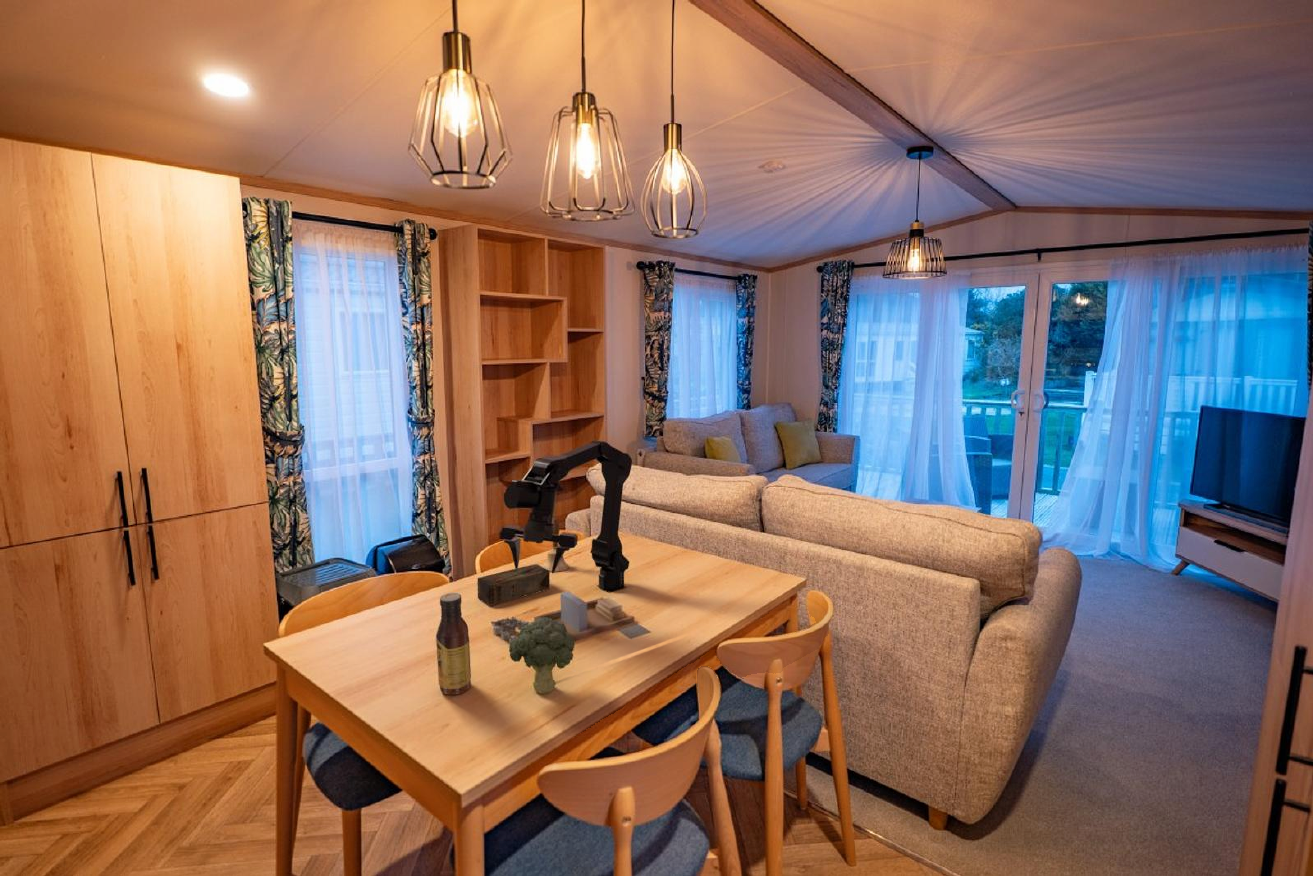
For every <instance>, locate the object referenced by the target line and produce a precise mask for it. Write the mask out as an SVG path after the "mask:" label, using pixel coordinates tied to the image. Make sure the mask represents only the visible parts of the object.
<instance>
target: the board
mask: <svg viewBox="0 0 1313 876" xmlns="http://www.w3.org/2000/svg"><path fill="white" fill-rule="evenodd" d="M586 602H587V601H585V600H583V599H582V598H580V597H579V596H577V595H575V594H574V593H572V592H570V591H569V590H568V591H564V592H560V610H561V620H562V621H564V622H565V623H567V624H568V625H569V626H571V627H572V628H573V629H575V630H576V631H578V632H582V631H585V630H587V603H586Z"/></svg>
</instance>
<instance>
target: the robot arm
mask: <svg viewBox="0 0 1313 876" xmlns="http://www.w3.org/2000/svg"><path fill="white" fill-rule="evenodd" d="M594 460H595V461H597V462H598V464H599V463H600V465H601V471H600V472H601V475H602V477H603V479H604V482H605V486H604V487H605V488H604V496H603V505H602V506H603V507H602V516H601V522H600V523H601V526H600V533H599V534H598V536H597V537H596V538H592V540H591V547H590V548H591V549H590V554H591V559H592V560H593V561H594V564H595V567H597V568H599V574H598V585H597V586H596V587H598V588H599V589H600V590H602V591H605V592H606V593H614V592H617V591H621V590H624V589H628V586H626V585H625V572H626V570H628V569H629V566H630V561H629V559H628V558H627V557H625V555H624V554H623V543H622V542H621V539H620V536H619V529H620V520H621V519H620V517H621V508H622V498H623V491H624V490H623V489H624V484H625V482H626V481H627V480H628V478H629V477H630V475H631V470H632V464H633V459H632V457H631V456H630V455H629V454H628V453H626V452H623V451H622V450H619V449H618V448H615V447H614V446H612V445H611V444H609V442H607V441H603V440H597V439H595V440H594V439H593V440H592V441H590V442H588V443H587V444H584V445H582V446H579V447H577V448H574V449H572V450H569V451H567V452H564V453H562V454H558V455H545V456H543V457H541V456H540V457H537V458H535V459H534V461H533V464H532V466H530V469H528V471H527V473H526V474H525V475H524V477H523V478H522V479H521V480H517V479H512V480H511V482H510V485H508V486H507V487H506V489H505V492H504V493H503V503H504V504H505V507H506V508H508V509H510V510H514V509H515V510H516V509H517V510H519V509H520V510H521V509H522V510H525V509H527V510H529V509H530V512H529V515H528V519H527V522H526V524H525V525H524V527H523V529H522V528H521V526H520V525H519V526H518V525H511V524H506V525H505V526H502V527H501V528H500V529H499V531H498V532H499V534H498V539H500V540H503V543H505V544H507V545H508V546H509V548H510V552H511V555H512V559H513V564H514V569H517V568H519V564H520V557H521V556H520V554H521V542H522V541H521V539H522V540H523V541H524V542H526V543H529V542H530V543H535V544H543V542H551V543H553V542H558V547H557V548H556V555H555V559H554V563H553V567H552V572H551V574H555V573H556V572H555V570H556V568H557V565H558V563H559V561H560V559H561V557H562V555H563V556H564V553H565V552H569V550H570V549H574V548H575V547H576V546H578V539H579V538H578V535H577V533H572V532H564V531H562V533H559V535H554V534H553V533H554V524H552V522H553V518H554V515H555V513H554V512H555V505H556V500H557V499H556V497H557V492H563V491H564V488H563V486H561V484H560V481H562V480H563V479H564V478H566V477H567V476H568V474H569V472H571V471H572V470H574V469H576V468H578V467H580V466H582V465H585V464H587V463H589V462H592V461H594Z"/></svg>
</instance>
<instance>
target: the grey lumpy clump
mask: <svg viewBox="0 0 1313 876" xmlns="http://www.w3.org/2000/svg"><path fill="white" fill-rule="evenodd" d="M532 622H533V621H525V620H523V619H517V618H516V617H515V616H512V617H511V618H509V617H505V618H502V619H497V621H490V623H491V625H492V627H493V635H495V636H500V638H501V641H502V640H503V641H506V640H508V644H509V645H510V644H511V642H512V641H513V640H514V639H515V638H517V637H518V636H517V635H514V634H516V632H517V631H516V626H517V630H519V631H521V628H522V627H523V626H525V625H530V624H531V623H532ZM512 635H513V636H512Z"/></svg>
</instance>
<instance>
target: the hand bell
mask: <svg viewBox="0 0 1313 876" xmlns="http://www.w3.org/2000/svg"><path fill="white" fill-rule="evenodd" d="M552 524H554V533H553V534H554V535H560V524H559V521H558V518H557V517H553V522H552ZM558 546H559V544H558V542H552V548H551V549H550V550H548V552H547V558H546V561H545V563H543V565H542V566H541V567H543V568H545V569H547V570H549V573H552V567H553V563H554V559H555V555H556V548H557V547H558ZM568 567H570V565H569V564H568V563H567V562H566V561H565V559H564V554H563V555H562V557H561V559H560V561H559V563H558V565H557V568H556V570H555V572H554V573H558V572H559V571H561V572H564V571H566V570H565V569H567V568H568ZM568 569H569V568H568ZM568 569H567V570H568ZM563 570H564V571H563ZM559 573H560V572H559Z"/></svg>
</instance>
